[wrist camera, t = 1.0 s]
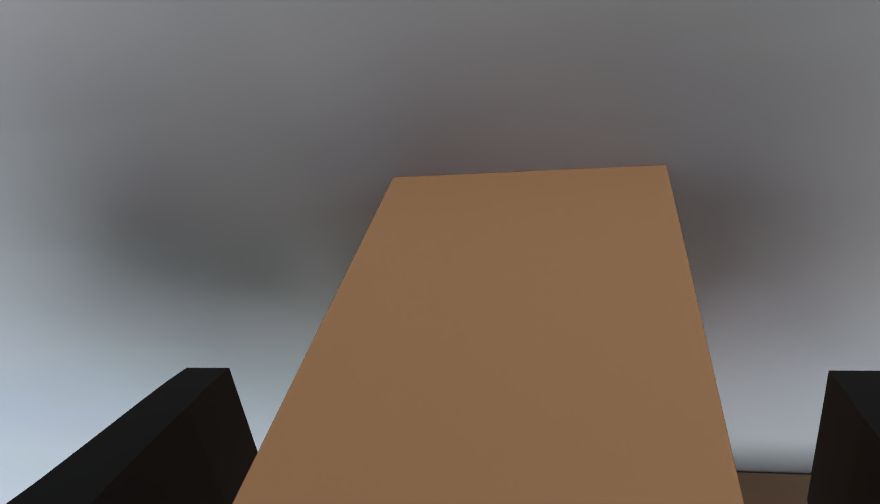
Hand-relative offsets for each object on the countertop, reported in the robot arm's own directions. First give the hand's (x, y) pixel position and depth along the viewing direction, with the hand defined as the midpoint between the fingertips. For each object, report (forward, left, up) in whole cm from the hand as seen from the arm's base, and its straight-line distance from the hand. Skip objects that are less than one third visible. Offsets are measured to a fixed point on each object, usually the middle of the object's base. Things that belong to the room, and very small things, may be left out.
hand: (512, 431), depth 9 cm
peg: (0, 0, -3) cm, 3 cm away
